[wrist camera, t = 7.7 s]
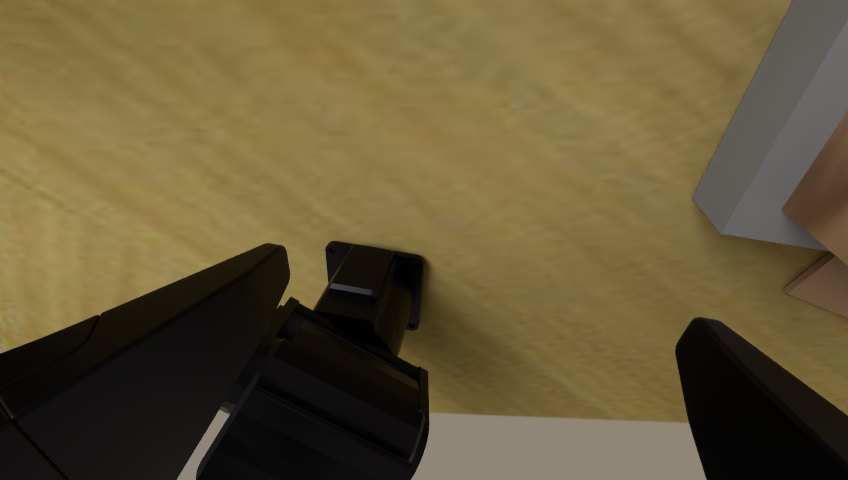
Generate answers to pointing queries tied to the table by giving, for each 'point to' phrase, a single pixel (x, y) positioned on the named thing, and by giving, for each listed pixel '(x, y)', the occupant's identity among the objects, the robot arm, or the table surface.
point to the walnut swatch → (823, 285)
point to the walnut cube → (825, 195)
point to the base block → (780, 127)
